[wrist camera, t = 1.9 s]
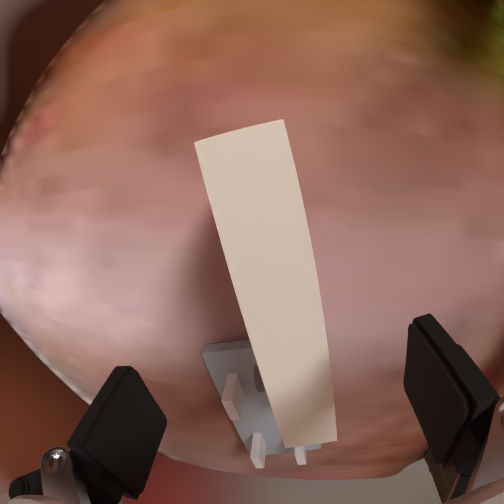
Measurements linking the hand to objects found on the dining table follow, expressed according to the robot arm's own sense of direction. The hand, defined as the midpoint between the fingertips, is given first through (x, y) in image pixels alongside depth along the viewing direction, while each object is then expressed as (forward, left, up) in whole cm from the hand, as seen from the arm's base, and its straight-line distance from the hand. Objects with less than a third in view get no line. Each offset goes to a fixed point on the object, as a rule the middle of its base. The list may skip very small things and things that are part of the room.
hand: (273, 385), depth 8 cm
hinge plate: (+4, +19, -17) cm, 26 cm away
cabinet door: (-1, 0, -17) cm, 17 cm away
